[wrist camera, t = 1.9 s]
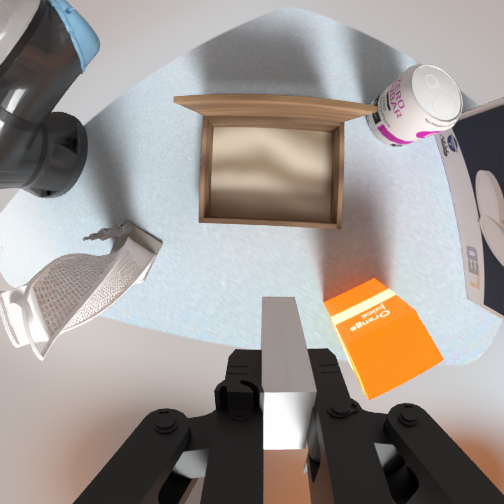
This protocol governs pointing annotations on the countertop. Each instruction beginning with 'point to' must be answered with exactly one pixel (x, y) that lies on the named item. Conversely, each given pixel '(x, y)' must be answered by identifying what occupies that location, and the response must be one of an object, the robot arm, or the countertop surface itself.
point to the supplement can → (416, 106)
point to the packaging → (479, 199)
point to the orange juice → (381, 337)
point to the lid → (274, 106)
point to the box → (272, 171)
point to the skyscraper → (77, 287)
